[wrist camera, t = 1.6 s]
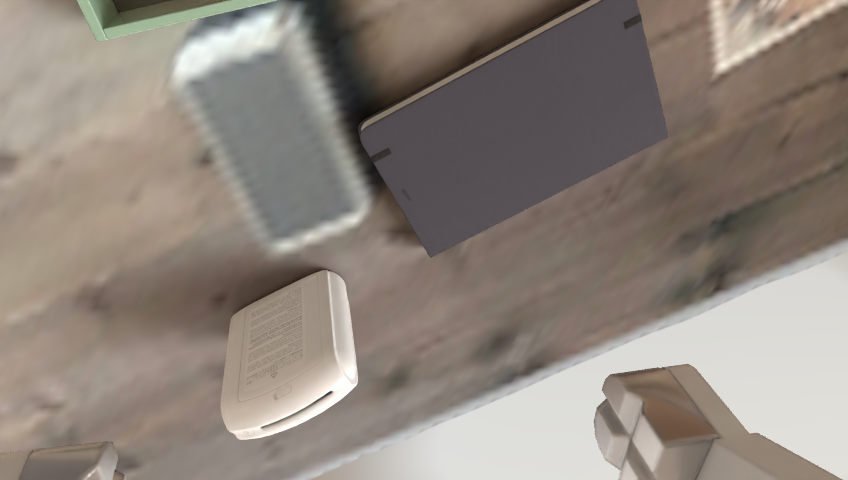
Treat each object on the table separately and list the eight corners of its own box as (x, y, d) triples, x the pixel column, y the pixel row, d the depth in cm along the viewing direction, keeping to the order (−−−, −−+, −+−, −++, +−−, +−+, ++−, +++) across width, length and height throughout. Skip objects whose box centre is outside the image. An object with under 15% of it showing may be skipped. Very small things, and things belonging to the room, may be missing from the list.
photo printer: (251, 345, 53) (244, 465, 43) (222, 314, 50) (207, 433, 40) (354, 294, 52) (372, 403, 42) (330, 259, 50) (342, 367, 39)
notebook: (426, 247, 51) (659, 128, 49) (430, 258, 50) (669, 136, 48) (352, 125, 44) (622, -21, 42) (355, 133, 42) (633, -16, 40)
